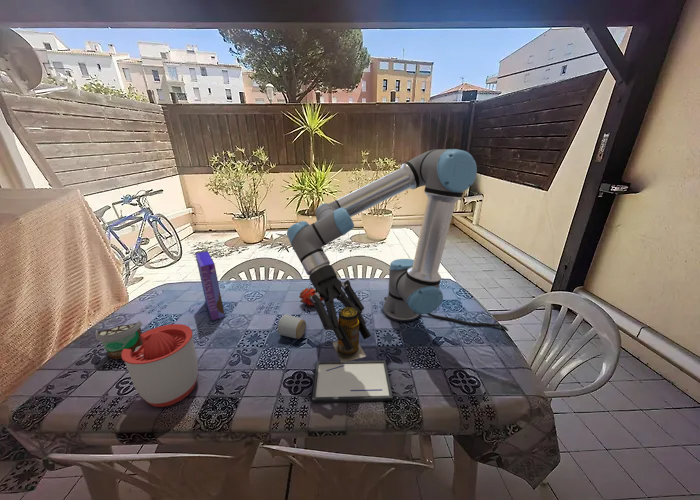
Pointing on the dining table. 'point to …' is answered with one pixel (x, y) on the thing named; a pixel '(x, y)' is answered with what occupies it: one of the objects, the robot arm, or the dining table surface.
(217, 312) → the cereal box
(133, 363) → the citrus juicer
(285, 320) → the ceramic mug
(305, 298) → the dragon fruit
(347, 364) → the whiteboard
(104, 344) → the food container
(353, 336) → the condiment
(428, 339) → the dining table surface
